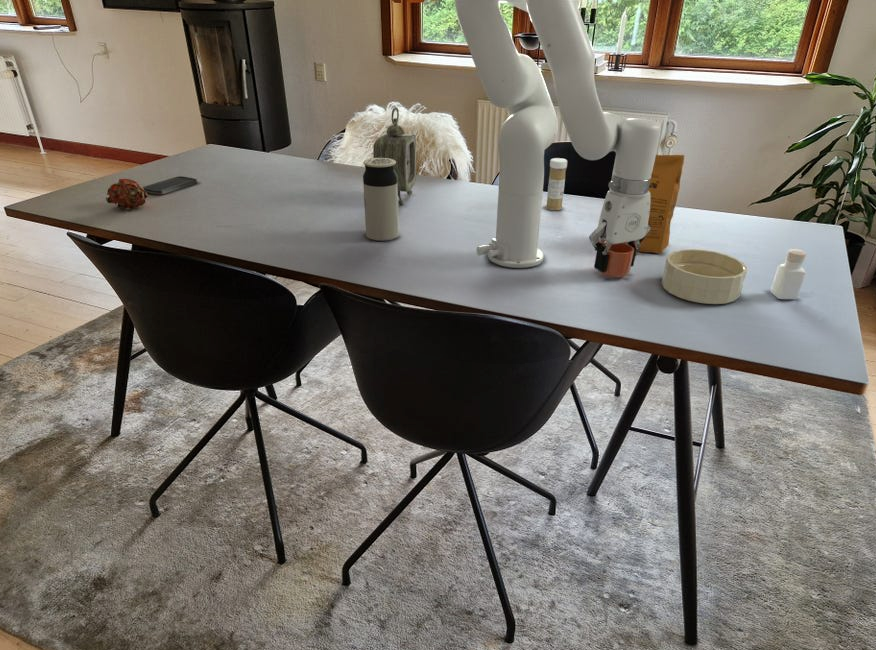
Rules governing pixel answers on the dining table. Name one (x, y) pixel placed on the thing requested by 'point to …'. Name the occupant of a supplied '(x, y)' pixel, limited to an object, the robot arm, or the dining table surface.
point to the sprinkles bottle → (556, 183)
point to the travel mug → (380, 199)
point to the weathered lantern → (399, 154)
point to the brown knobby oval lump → (126, 194)
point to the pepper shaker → (789, 276)
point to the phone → (169, 185)
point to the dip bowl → (619, 260)
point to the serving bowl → (704, 276)
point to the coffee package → (662, 201)
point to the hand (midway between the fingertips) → (613, 266)
